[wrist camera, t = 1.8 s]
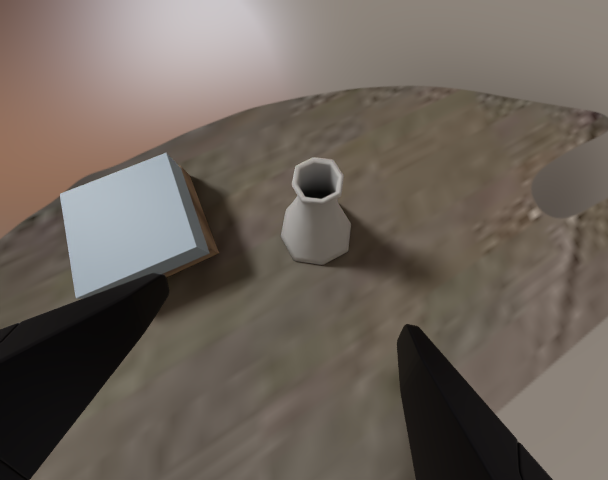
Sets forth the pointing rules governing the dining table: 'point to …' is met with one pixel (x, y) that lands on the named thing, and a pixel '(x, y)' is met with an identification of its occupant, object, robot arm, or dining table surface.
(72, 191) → the pale blue square slab
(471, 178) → the dining table surface
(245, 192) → the dining table surface
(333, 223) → the flask
